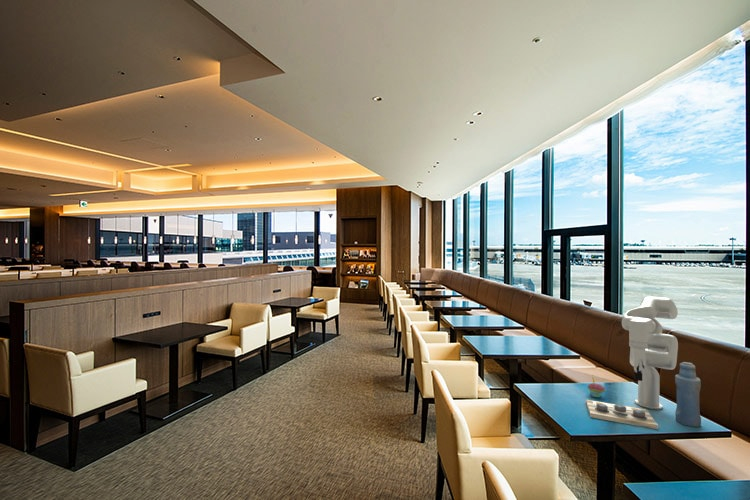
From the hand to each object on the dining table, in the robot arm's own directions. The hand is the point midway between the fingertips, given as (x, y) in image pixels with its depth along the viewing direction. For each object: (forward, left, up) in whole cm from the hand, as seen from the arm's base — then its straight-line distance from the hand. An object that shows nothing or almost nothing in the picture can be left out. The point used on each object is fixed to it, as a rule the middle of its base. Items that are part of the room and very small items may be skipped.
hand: (638, 380), depth 182 cm
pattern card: (-8, -8, -18) cm, 21 cm away
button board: (-2, -8, -20) cm, 22 cm away
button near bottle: (+1, 0, -17) cm, 17 cm away
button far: (+1, -16, -17) cm, 24 cm away
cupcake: (-28, -15, -20) cm, 37 cm away
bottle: (-8, +22, -20) cm, 31 cm away
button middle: (+1, -8, -16) cm, 18 cm away
